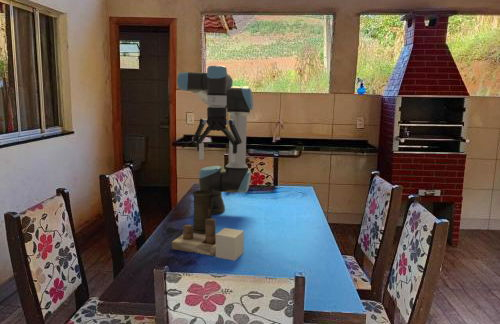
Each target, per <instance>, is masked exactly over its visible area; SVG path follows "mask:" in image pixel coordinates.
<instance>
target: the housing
mask: <svg viewBox="0 0 500 324" xmlns="http://www.w3.org/2000/svg"><path fill="white" fill-rule="evenodd" d="M215 236H216V254H215V258H219V259H224V260H229V261H234V262H235V261H237V259H239V258H240V257H241V256H242V255H243V254H244V252H245V251H244V247H245V246H244V242H245V241H244V240H245V239H244V237H245V232H244V230H241V229H234V228H227V227H224V228H223V229H221V230H220V231H219V232H216V233H215Z"/></svg>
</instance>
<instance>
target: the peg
mask: <svg viewBox="0 0 500 324" xmlns="http://www.w3.org/2000/svg"><path fill="white" fill-rule="evenodd" d="M204 235H205V244H211V245H215V236H216V219H215V218H212V217H211V218H209V219H206V220H205V234H204Z"/></svg>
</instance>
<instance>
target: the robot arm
mask: <svg viewBox="0 0 500 324" xmlns="http://www.w3.org/2000/svg"><path fill="white" fill-rule="evenodd" d="M227 70H228V69H227V67H226V66H224V65H209V66H208V67H207V68H206V72H201V71H200V72H199V71H198V72H196V71H194V72H193V71H190V72H189V71H184V72H179V73H178V75H177V83H176V84H177V88H178V89H179V91H185V92H191V93H193V94H194V95H196V96H197V97H199V98H200V99H201V101H202V102H203V103H204V104H206V105H207V106H208V107H207V108H206V116H207V118H200V119H199V123H198V126H197V129H196V131H195V133H194V135H193V138H192V142H194V143H196V147H197V149H196V150H197V152H198V160H199V161H202V160H204V159H205V154H204V153H205V151H204V150H205V146H204V145H205V144H204V142H203V141H204V140H205V138H206V137H207V136H208V135H209V134H210V133H211V131H217V132H222V133H223V134H224V135H225V137H226V138H227V140H228V141H229V142H228V143H229V145H228V163H227V164H226V165H225V168H222V166H221V165H211V166H206V167H203V168H201V169H200V170H199V171H198V173H199V175H198V190H209V191H211V192H212V195H211V215H218V214H223V213H224V212H225V210H226V205H225V202H224V199H223V196H222V194H223V193H236V194H243V193H247V192H248V190H249V188H250V185H251V178H252V170H249V166H248V165H247V163H246V160H247V159H246V156H247V155H246V154H247V152H246V151H247V121H248V120H247V119H248V118H247V117H248V116H249V115H250V113H251V111H252V110H254V98H253V97H254V96H253V93H252V89H251V87H249V86H245V85H243V86H241V85H236V86H235V85H233V83H234V81H233V78H232V76H231V75H230V74H229V73H228V71H227ZM227 115H228V116H229V119H227ZM206 124H207V125H208V126H207V127H206V128H205V130H204V131H203V129H204V127H205V125H206ZM226 125H228V126H229V129H228V127H227V126H226Z"/></svg>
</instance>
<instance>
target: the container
mask: <svg viewBox="0 0 500 324" xmlns="http://www.w3.org/2000/svg"><path fill="white" fill-rule="evenodd" d="M211 195H212V192H211V191H209V190H199V189H198V190H195V191H193V192H192V196H193V224H192V225H193V233H198V234H204V235H205V220H206V219H209V218H212V214H211Z"/></svg>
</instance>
